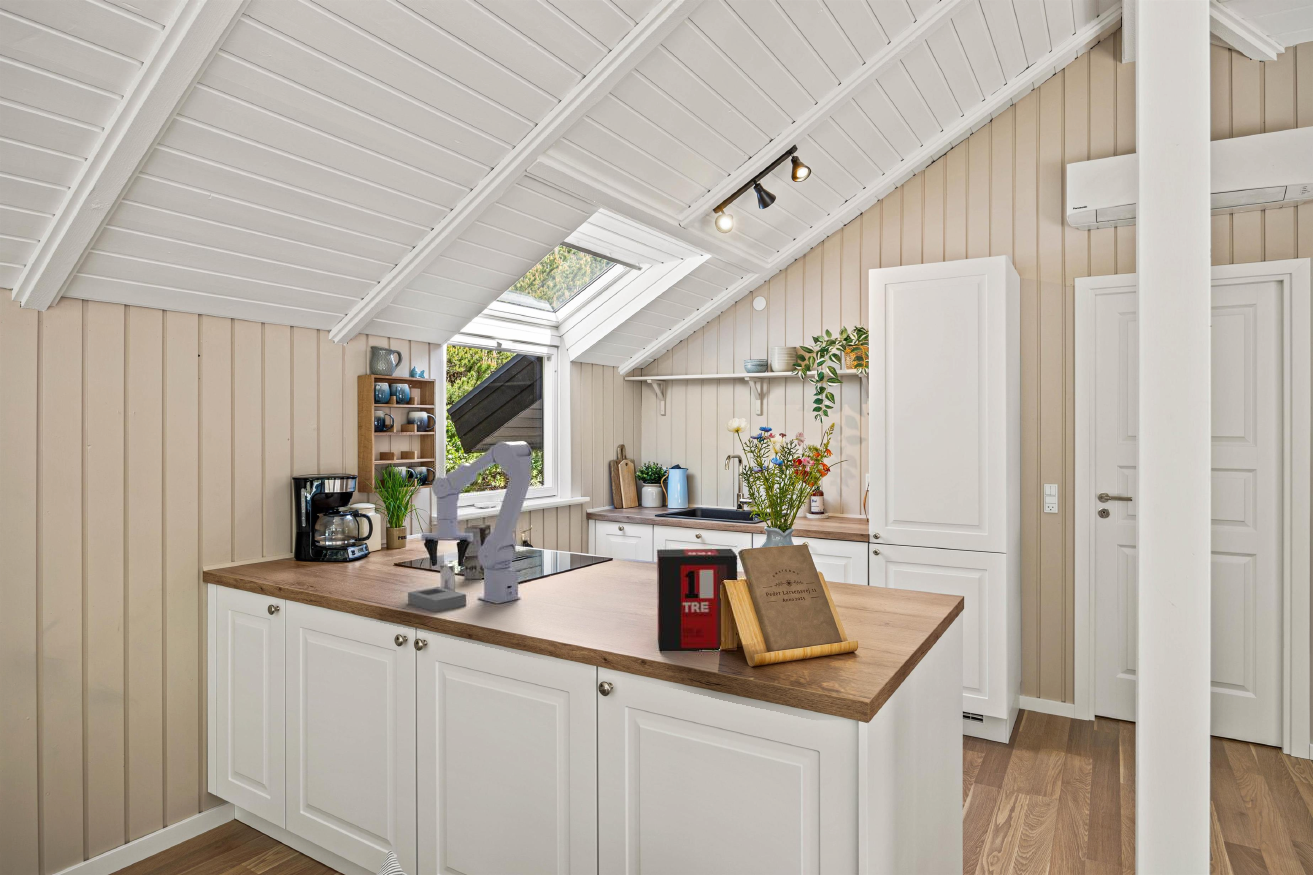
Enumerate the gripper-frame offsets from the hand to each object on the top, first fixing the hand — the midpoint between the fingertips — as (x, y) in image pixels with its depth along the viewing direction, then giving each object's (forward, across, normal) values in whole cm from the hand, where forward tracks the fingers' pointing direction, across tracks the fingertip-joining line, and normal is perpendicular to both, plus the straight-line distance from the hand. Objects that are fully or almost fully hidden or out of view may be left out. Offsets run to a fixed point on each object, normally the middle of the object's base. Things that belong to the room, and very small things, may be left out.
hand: (447, 565), depth 202 cm
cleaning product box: (+8, -72, +46) cm, 86 cm away
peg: (+8, 0, 0) cm, 8 cm away
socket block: (+8, -2, +14) cm, 16 cm away
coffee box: (+8, -2, -23) cm, 24 cm away
